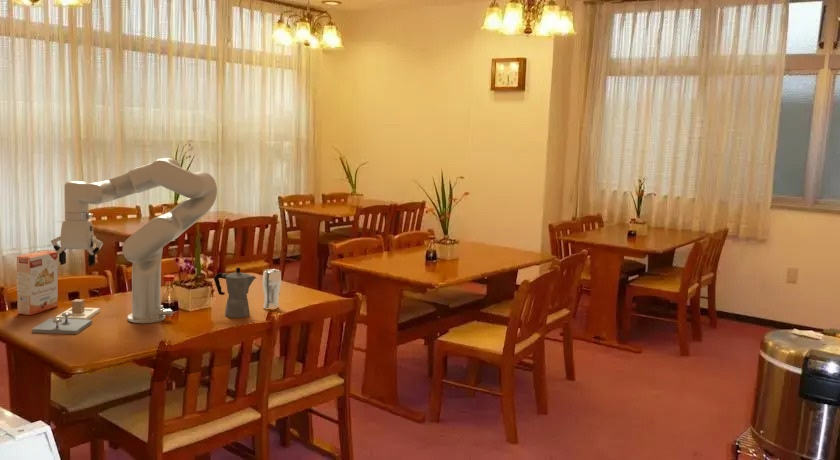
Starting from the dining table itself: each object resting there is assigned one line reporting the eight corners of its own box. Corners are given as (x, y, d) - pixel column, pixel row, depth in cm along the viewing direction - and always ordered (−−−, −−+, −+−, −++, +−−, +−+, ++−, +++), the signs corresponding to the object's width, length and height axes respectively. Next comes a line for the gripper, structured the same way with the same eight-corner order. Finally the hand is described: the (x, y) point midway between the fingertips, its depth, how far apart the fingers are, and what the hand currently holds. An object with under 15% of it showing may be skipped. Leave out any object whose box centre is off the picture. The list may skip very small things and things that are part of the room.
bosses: (72, 320, 242) (71, 312, 242) (59, 328, 233) (59, 320, 232) (64, 320, 242) (64, 312, 242) (51, 328, 232) (51, 320, 232)
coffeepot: (257, 312, 270) (258, 266, 267) (252, 319, 260) (253, 271, 258) (216, 310, 269) (217, 264, 266) (210, 317, 260) (210, 269, 257)
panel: (99, 311, 259) (99, 296, 258) (85, 321, 246) (85, 305, 245) (71, 310, 258) (71, 295, 257) (55, 320, 245) (55, 304, 245)
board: (92, 323, 244) (92, 319, 244) (76, 334, 232) (76, 330, 231) (50, 321, 243) (50, 318, 243) (32, 332, 231) (32, 329, 230)
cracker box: (31, 316, 249) (30, 257, 246) (16, 314, 250) (15, 256, 247) (59, 306, 262) (58, 251, 259) (45, 304, 263) (43, 249, 260)
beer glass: (258, 308, 275) (259, 271, 272) (268, 305, 281) (269, 268, 279) (273, 311, 272) (274, 273, 270) (283, 307, 278) (284, 270, 276)
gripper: (106, 216, 251) (106, 263, 254) (56, 214, 250) (56, 261, 253) (98, 219, 244) (98, 268, 246) (46, 216, 243) (47, 265, 245)
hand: (77, 264), depth 250 cm, fingers open, 9 cm apart
